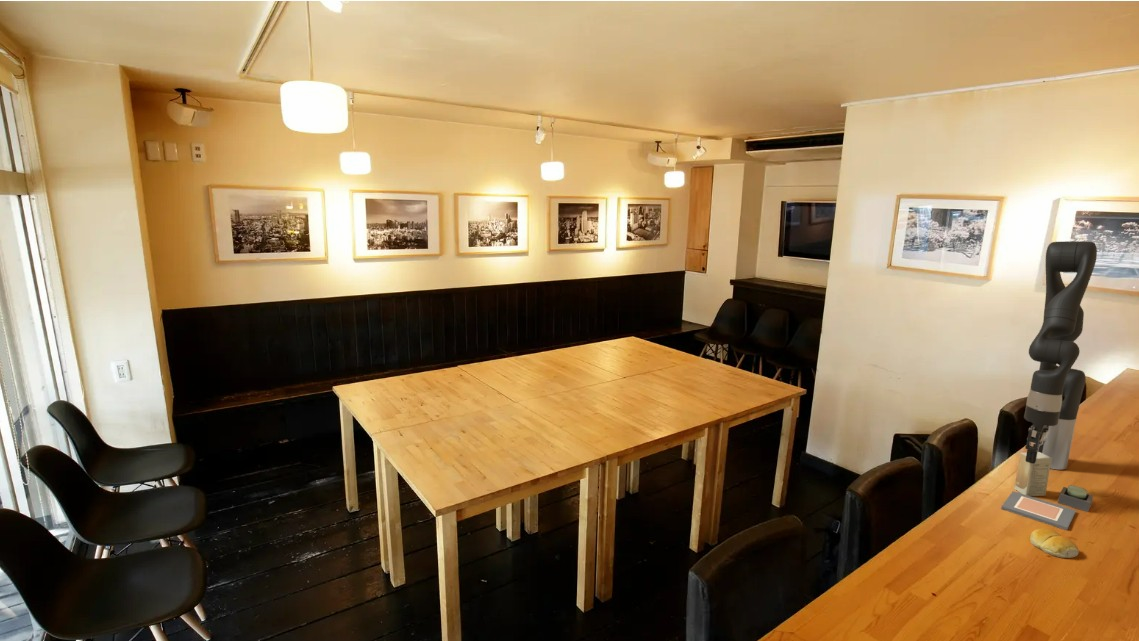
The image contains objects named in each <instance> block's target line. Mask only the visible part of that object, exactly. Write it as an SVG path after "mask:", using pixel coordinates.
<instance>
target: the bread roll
mask: <svg viewBox="0 0 1139 641" xmlns="http://www.w3.org/2000/svg"><path fill="white" fill-rule="evenodd" d="M1029 538H1030V542H1031V544H1032V545H1033V546H1034V547H1036V548H1037V549H1039V550H1042V551H1043V552H1044V553H1046V554H1048V555H1051V556H1054V557H1057V558H1062V559H1071V558H1075V557H1077V556H1078V555H1079V548H1078V546H1077V545H1076V543H1075V542H1073V540H1071V539H1070V538H1068V537H1066V536H1062V535H1061V534H1060V533H1058V532H1057V531H1056V530H1052V529H1049V528H1036V529H1035V530H1033V531H1032V532H1031V533H1030V537H1029Z"/></svg>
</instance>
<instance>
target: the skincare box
mask: <svg viewBox="0 0 1139 641" xmlns="http://www.w3.org/2000/svg"><path fill="white" fill-rule="evenodd" d="M1026 455H1027V451H1026V452H1023V451H1022V452H1019V457H1018V463H1017V472H1016V478H1015V483H1014V489H1013V490H1015V491H1016V490H1017V491H1016V492H1017V493H1021V494H1024V495H1027V496H1031V497H1042V496H1046V494H1047V489H1048V483H1049V476H1050V470H1051V468H1050V464H1051V457H1049V456H1047V455H1045V454H1043V453H1040V452H1038V453H1037V458H1036V462H1035V463H1034V464H1032V463H1029V462H1026Z"/></svg>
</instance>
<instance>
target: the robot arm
mask: <svg viewBox="0 0 1139 641" xmlns="http://www.w3.org/2000/svg"><path fill="white" fill-rule="evenodd" d="M1097 255H1098V248H1097V245H1096V243H1095V242H1093V241H1085V240H1084V241H1083V240H1082V241H1080V240H1078V241H1072V240H1070V241H1052V242H1050V243H1049V244H1048V246H1047V249H1046V251H1045V298H1044V300H1045V301H1044V309H1043V310H1044V311H1043V322H1042V324H1041V325H1042V326H1041V327H1040V330H1039V332H1038V333H1037V335H1036V336H1035V338H1034V339H1033V340H1032V342H1031V344H1030V345H1029V348H1028V355H1029V357H1030V359H1031V360H1032V361H1035V362H1038V363H1039V364H1040V365H1039V369H1037V370H1035V371H1034V372H1033V374H1032V378H1031V383H1030V389H1029V392H1028V395H1027V399H1026V403H1025V411H1024V415H1023V418H1024V420H1026V421H1027V422H1030V423H1032V424H1031V426H1029V428H1028V434H1027V438H1026V443H1025V450H1026V452H1027V455H1026V462H1029V463H1032V464H1034V463H1035V462H1036V458H1037V453H1038V452H1040V453H1043V454H1045V455H1047V456H1049V457H1051V464H1050V470H1066V469H1067V468H1068V465H1069V458H1070V453H1071V447H1072V444H1073V438H1074V433H1075V427H1076V421H1077V417H1078V414H1079V413H1078V412H1079V409H1080V404H1081V399H1082V396H1083V392H1084V388H1085V385H1086V380H1087V379H1086V377H1087V376H1086V374H1085V371H1083V370H1081V369H1077V368H1072V367H1073V365H1074V364H1075V363H1076V361H1077V360H1078V357H1079V356H1080V351H1081V350H1080V347H1079V346H1078V344H1077V343H1076V342H1075V341H1077V339H1079V337H1080V336H1081V334H1082V333H1083V328H1084V315H1085V312H1084V309H1083V308H1082V306H1081V305H1082V304H1081V303H1082V301H1083V298H1084V295H1085V293H1086V291H1087V289H1088V286H1089V283H1090V280H1091V277H1092V274H1093V271H1094V269H1095V265H1096V263H1097V262H1096V261H1097ZM1061 273H1076V275H1075V277H1074V278H1073V280H1071V282H1069V284H1068V285H1067V286H1065V284H1064V281H1063V278H1062V274H1061ZM1063 397H1064V399H1063Z"/></svg>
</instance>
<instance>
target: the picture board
mask: <svg viewBox="0 0 1139 641" xmlns="http://www.w3.org/2000/svg"><path fill="white" fill-rule="evenodd" d="M1000 507H1001V508H1000V509H1001V510H1003V511H1006V512H1007V511H1008V512H1010V513H1013V514H1016V515H1018V516H1022V517H1024V518H1028V519H1031V520H1033V521H1037V522H1040V523H1044V524H1047V525H1049V526H1052V527H1056V528H1059V529H1061V530H1064V531H1068V529H1069V527H1070V526H1071V523H1072V521H1073V519H1074V516H1075V515H1076V513H1077V510H1075V509H1074V508H1073V509H1072V508H1071V507H1070V508H1069V507H1068V506H1064V505H1061V504H1060V505H1059V504H1058V503H1053V502H1049V501H1046V500H1044V499H1040V498H1036V497H1035V496H1027V495H1024V494H1021V493H1020V492H1018V491H1013V490H1012V491H1011V493H1010V494H1009V496H1008V497H1007V498H1006V499H1005V501H1004V502H1003V504H1002V505H1001V506H1000Z"/></svg>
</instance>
